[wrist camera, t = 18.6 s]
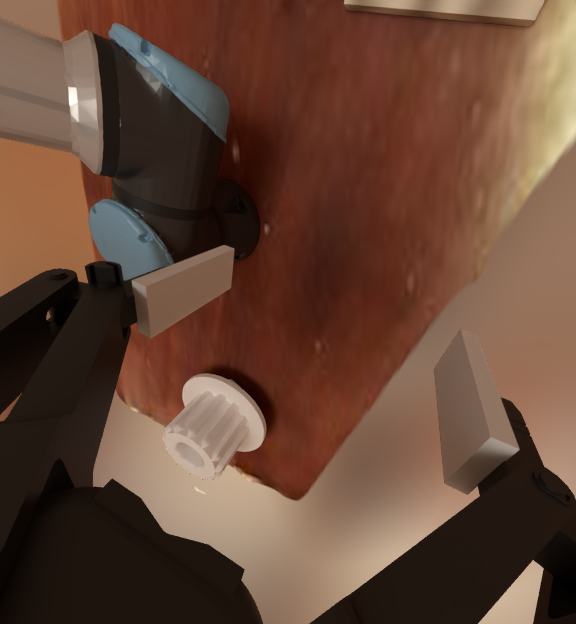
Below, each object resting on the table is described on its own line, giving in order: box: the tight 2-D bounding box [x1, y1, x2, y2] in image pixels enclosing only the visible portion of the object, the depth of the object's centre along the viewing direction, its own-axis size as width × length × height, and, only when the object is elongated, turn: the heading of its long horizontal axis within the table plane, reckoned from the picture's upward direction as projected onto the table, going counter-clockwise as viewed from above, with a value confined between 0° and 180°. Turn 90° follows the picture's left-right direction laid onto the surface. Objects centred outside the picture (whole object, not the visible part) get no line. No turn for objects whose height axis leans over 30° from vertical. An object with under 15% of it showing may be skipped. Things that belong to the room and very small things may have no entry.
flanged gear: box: [162, 373, 266, 480], centre depth 67 cm, size 25×25×19 cm
